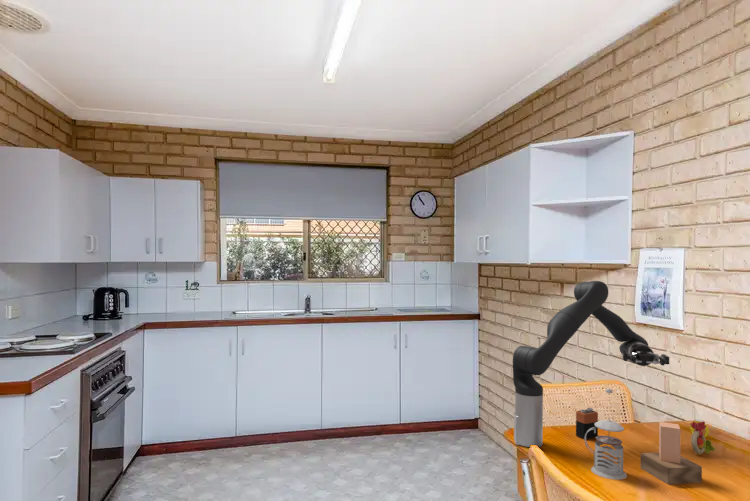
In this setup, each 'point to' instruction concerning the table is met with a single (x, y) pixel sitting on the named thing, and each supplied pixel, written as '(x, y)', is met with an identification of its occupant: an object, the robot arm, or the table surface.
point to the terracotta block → (669, 442)
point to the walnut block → (671, 469)
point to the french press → (608, 451)
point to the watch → (705, 428)
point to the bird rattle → (700, 439)
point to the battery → (586, 423)
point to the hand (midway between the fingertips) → (648, 361)
